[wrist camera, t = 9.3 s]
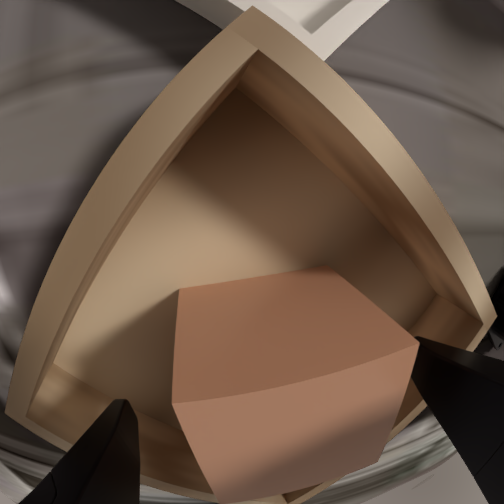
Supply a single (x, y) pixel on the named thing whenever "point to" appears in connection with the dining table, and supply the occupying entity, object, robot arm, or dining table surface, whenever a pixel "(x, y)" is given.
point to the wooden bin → (234, 240)
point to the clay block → (286, 380)
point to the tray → (297, 17)
